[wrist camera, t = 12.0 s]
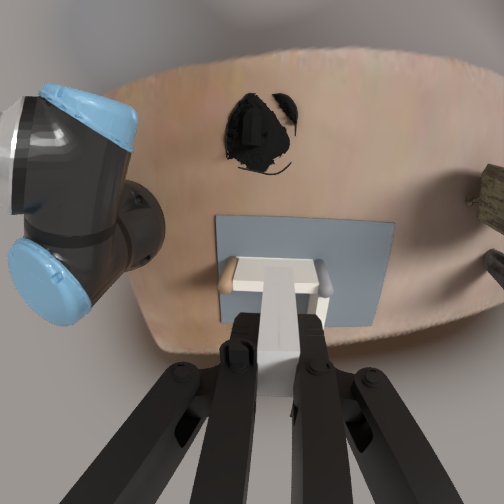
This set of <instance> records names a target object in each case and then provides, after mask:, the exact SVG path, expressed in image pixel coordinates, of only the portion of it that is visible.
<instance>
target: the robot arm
mask: <svg viewBox="0 0 504 504" xmlns="http://www.w3.org/2000/svg"><path fill="white" fill-rule="evenodd" d="M39 95H40V96H38V97H32V96H23V97H21V98H20V99H19V100H18V101H17V102H16V103H14V104H13V105H12V106H11V107H10V108H9V109H7V110H6V111H4V112H0V206H1V207H2V208H3V209H4V210H5V211H6V213H7V214H8V215H17V214H24V236H23V238H20V239H18V240H16V241H15V243H14V244H13V246H12V247H11V248H10V250H9V253H8V267H9V271H10V274H11V277H12V280H13V282H14V284H15V286H16V288H17V290H18V292H19V293H20V295H21V296H22V298H23V299H24V300H25V302H26V303H27V304H28V305H29V306H30V308H32V310H33V311H35V312H36V313H37V314H38V315H39V316H41V317H42V318H43V319H45V320H46V321H48V322H50V323H52V324H55V325H58V326H69V325H73V324H75V323H77V322H78V321H79V320H80V319H81V318H82V317H84V316H85V315H86V314H88V313H89V312H90V310H91V308H92V307H93V305H94V304H95V303H96V302H97V301H98V300H99V299H100V298H101V296H102V295H103V294H104V293H105V292H106V291H107V290H108V289H109V288H110V287H111V286H112V284H114V282H115V281H116V280H117V279H118V278H119V277H120V276H121V275H122V274H123V273H124V272H127V271H130V270H133V269H137V268H140V267H142V266H144V265H145V264H147V263H148V262H150V261H151V260H152V259H153V257H154V256H155V255H156V254H157V253H158V252H159V250H160V249H161V247H162V244H163V241H164V238H165V220H164V215H163V212H162V209H161V207H160V205H159V203H158V201H157V200H156V198H155V197H154V196H153V195H152V194H151V192H149V191H148V190H147V189H146V188H145V187H143V186H142V185H140V184H138V183H136V182H133V181H129V180H125V178H126V174H127V169H128V165H129V161H130V158H131V154H132V153H133V152H134V148H133V143H134V139H135V135H136V130H137V126H138V115H137V112H136V111H135V110H134V108H132V107H131V106H129V105H127V104H124V103H121V102H118V101H115V100H112V99H109V98H106V97H103V96H99V95H96V94H92V93H89V92H85V91H81V90H77V89H73V88H69V87H65V86H60V85H57V84H51V83H46V84H44V85H43V86H42V88H41V89H40V90H39ZM219 351H220V361H221V363H220V364H219V365H217V366H215V367H212V368H206V369H198V368H197V367H196V366H195V365H193V364H191V363H187V362H178V363H175V364H173V365H171V366H169V367H168V368H167V369H166V370H165V372H164V373H163V374H162V375H161V377H160V378H159V379H158V381H157V382H156V383H155V384H154V386H153V387H152V388H151V390H150V391H149V392H148V393H147V394H146V396H145V397H144V398H143V400H142V401H141V402H140V403H139V405H138V406H137V407H136V408H135V410H134V411H133V412H132V413H131V415H130V416H129V417H128V419H127V420H126V421H125V422H124V424H123V425H122V426H121V427H120V428H119V430H118V431H117V432H116V433H115V435H114V436H113V437H112V438H111V440H110V441H109V442H108V444H107V445H106V446H105V447H104V449H103V450H102V451H101V452H100V454H99V455H98V456H97V457H96V459H95V460H94V461H93V462H92V464H91V465H90V466H89V467H88V469H87V470H86V471H85V472H84V474H83V475H82V476H81V477H80V478H79V480H78V481H77V482H76V484H75V485H74V486H73V487H72V488H71V490H70V491H69V492H68V494H67V495H66V496H65V497H64V498H63V500H62V501H61V502H60V503H59V504H155V503H156V501H157V499H158V498H159V496H160V495H161V493H162V492H163V490H164V488H165V487H166V485H167V484H168V482H169V480H170V479H171V477H172V476H173V474H174V472H175V471H176V469H177V467H178V466H179V464H180V462H181V461H182V459H183V457H184V455H185V454H186V452H187V450H188V449H189V447H190V446H191V444H192V442H193V441H194V439H195V437H196V435H197V434H198V432H199V430H200V429H201V427H202V425H203V423H204V422H205V420H206V418H207V417H209V419H208V424H207V427H206V432H205V436H204V441H203V445H202V450H201V454H200V459H199V463H198V467H197V472H196V476H195V481H194V485H193V490H192V494H191V499H190V504H246V500H247V491H248V482H249V472H250V462H251V452H252V443H253V433H254V422H255V412H256V396H275V397H276V396H277V397H292V396H293V405H292V410H291V415H290V417H292V487H291V488H292V490H291V504H353V497H352V487H351V476H350V468H349V459H348V450H347V443H346V438H347V440H348V443H349V445H350V447H351V449H352V451H353V454H354V456H355V458H356V461H357V463H358V465H359V468H360V470H361V472H362V474H363V477H364V479H365V481H366V484H367V486H368V488H369V490H370V492H371V495H372V497H373V500H374V502H375V504H464V503H463V501H462V499H461V498H460V496H459V494H458V492H457V490H456V489H455V487H454V485H453V483H452V481H451V479H450V478H449V476H448V474H447V472H446V471H445V469H444V467H443V466H442V464H441V462H440V461H439V459H438V457H437V455H436V454H435V452H434V450H433V449H432V447H431V445H430V444H429V442H428V440H427V439H426V437H425V436H424V434H423V432H422V431H421V429H420V427H419V426H418V424H417V423H416V421H415V419H414V418H413V416H412V415H411V413H410V412H409V410H408V408H407V407H406V405H405V404H404V402H403V401H402V399H401V398H400V396H399V394H398V393H397V391H396V390H395V388H394V387H393V385H392V384H391V382H390V381H389V379H388V378H387V376H386V375H385V374H384V373H383V372H382V371H380V370H379V369H376V368H371V367H367V368H363V369H360V370H359V371H358V372H357V373H356V374H352V373H347V372H344V371H340V370H338V369H337V368H335V367H334V366H333V364H332V363H331V362H330V361H329V358H328V352H327V347H326V342H325V336H324V331H323V326H322V321H321V320H320V319H319V317H318V316H317V315H316V314H297V308H296V297H295V287H294V277H293V268H292V267H270V266H265V273H264V284H263V295H262V306H261V313H247V312H240V313H239V314H238V315H237V316H236V317H235V318H234V323H233V327H232V332H231V336H230V340H227V341H226V342H224V343H223V344H222V345H221V347H220V349H219Z"/></svg>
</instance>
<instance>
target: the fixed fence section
mask: <svg viewBox="0 0 504 504" xmlns="http://www.w3.org/2000/svg"><path fill="white" fill-rule="evenodd" d="M265 266H270V267H292V268H293V277H294V287H295V293H311V294H318V291H319V295H320V296H321V297H322V298H329V297H331V296H332V295H333V292H334V290H333V287H332V284H331V281H330V278H329V275H328V272H327V269H326V266H325V263H324V261H323V260H322V259H316V260H314V262H313V260H295V259H268V258H242V257H239V259H238V258H237V257H236V256H230V257H229V258H228V259H227V262H226V264H225V267H224V270H223V272H222V275H221V278H220V280H219V283H218V286H217V289H218V291H219V292H220V293H222V294H229V293H230V292H231V291H232V288H233V291H254V292H263V284H264V273H265Z"/></svg>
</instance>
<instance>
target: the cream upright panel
mask: <svg viewBox="0 0 504 504" xmlns="http://www.w3.org/2000/svg"><path fill="white" fill-rule="evenodd" d="M329 298H330V297H329ZM329 298H322V297H321V296H320V295H319V291H318V294H311V293H310V299H309V306H308V313H307V314H316V315H317V316H318V317H319V319H320V320H321V321H322V326H323V329H324V325H325V320H326V314H327V309H328V304H329Z"/></svg>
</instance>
